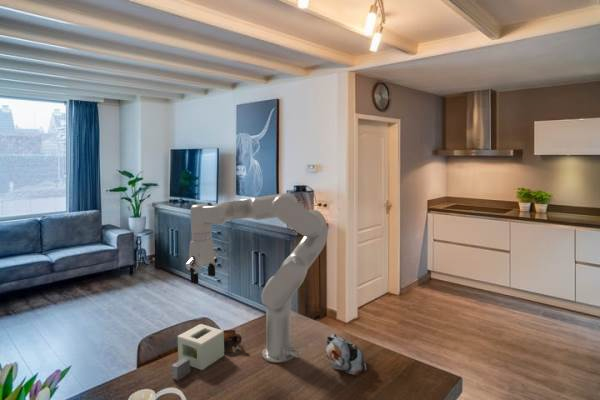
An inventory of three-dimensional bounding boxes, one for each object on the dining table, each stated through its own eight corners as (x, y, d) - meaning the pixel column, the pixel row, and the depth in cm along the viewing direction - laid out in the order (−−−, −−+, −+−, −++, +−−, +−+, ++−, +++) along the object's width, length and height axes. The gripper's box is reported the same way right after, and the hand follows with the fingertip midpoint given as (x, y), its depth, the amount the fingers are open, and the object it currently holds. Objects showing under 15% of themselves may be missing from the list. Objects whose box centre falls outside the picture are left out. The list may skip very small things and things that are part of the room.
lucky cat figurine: (369, 377, 134) (356, 350, 129) (337, 388, 135) (323, 361, 130) (361, 345, 148) (349, 319, 142) (332, 355, 149) (319, 330, 144)
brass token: (209, 354, 148) (209, 341, 147) (198, 361, 143) (198, 348, 142) (204, 352, 149) (204, 340, 149) (193, 359, 144) (193, 346, 144)
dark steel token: (190, 372, 137) (189, 359, 136) (177, 380, 132) (176, 367, 131) (185, 370, 138) (184, 357, 137) (172, 378, 133) (171, 365, 132)
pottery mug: (210, 352, 151) (210, 331, 154) (223, 353, 159) (223, 332, 163) (236, 350, 147) (236, 327, 150) (248, 350, 155) (248, 329, 159)
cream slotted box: (224, 355, 148) (223, 330, 147) (202, 370, 138) (201, 343, 137) (201, 347, 154) (200, 323, 153) (178, 361, 144) (177, 336, 143)
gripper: (209, 231, 156) (210, 272, 158) (177, 239, 141) (180, 284, 143) (223, 233, 153) (225, 274, 155) (193, 241, 137) (195, 287, 139)
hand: (203, 279), depth 149 cm, fingers open, 9 cm apart
